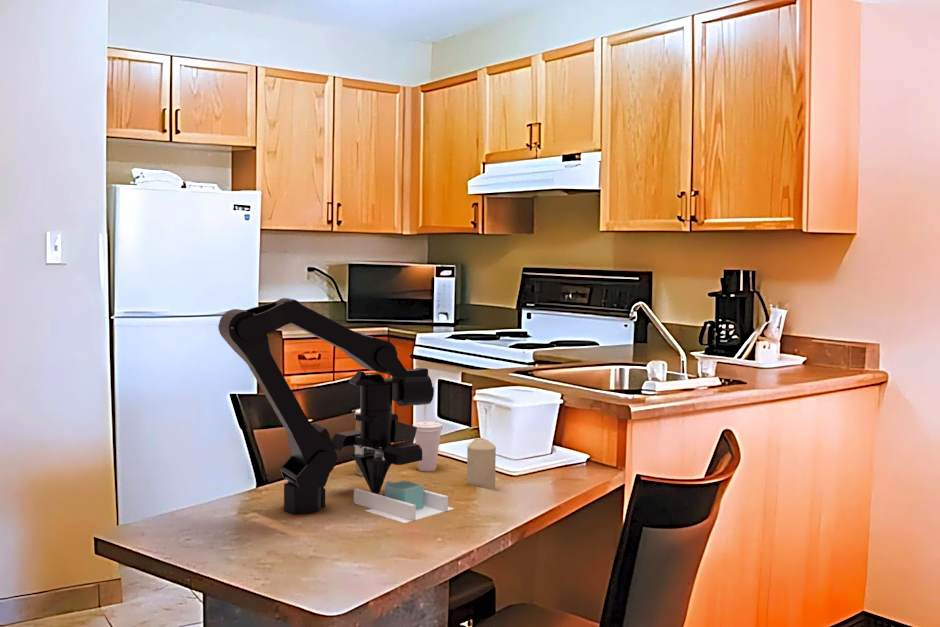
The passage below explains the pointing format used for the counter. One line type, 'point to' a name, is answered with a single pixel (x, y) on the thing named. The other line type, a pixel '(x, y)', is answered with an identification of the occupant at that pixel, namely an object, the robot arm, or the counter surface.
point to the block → (406, 492)
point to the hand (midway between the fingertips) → (375, 493)
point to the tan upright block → (481, 463)
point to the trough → (401, 505)
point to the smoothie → (428, 442)
